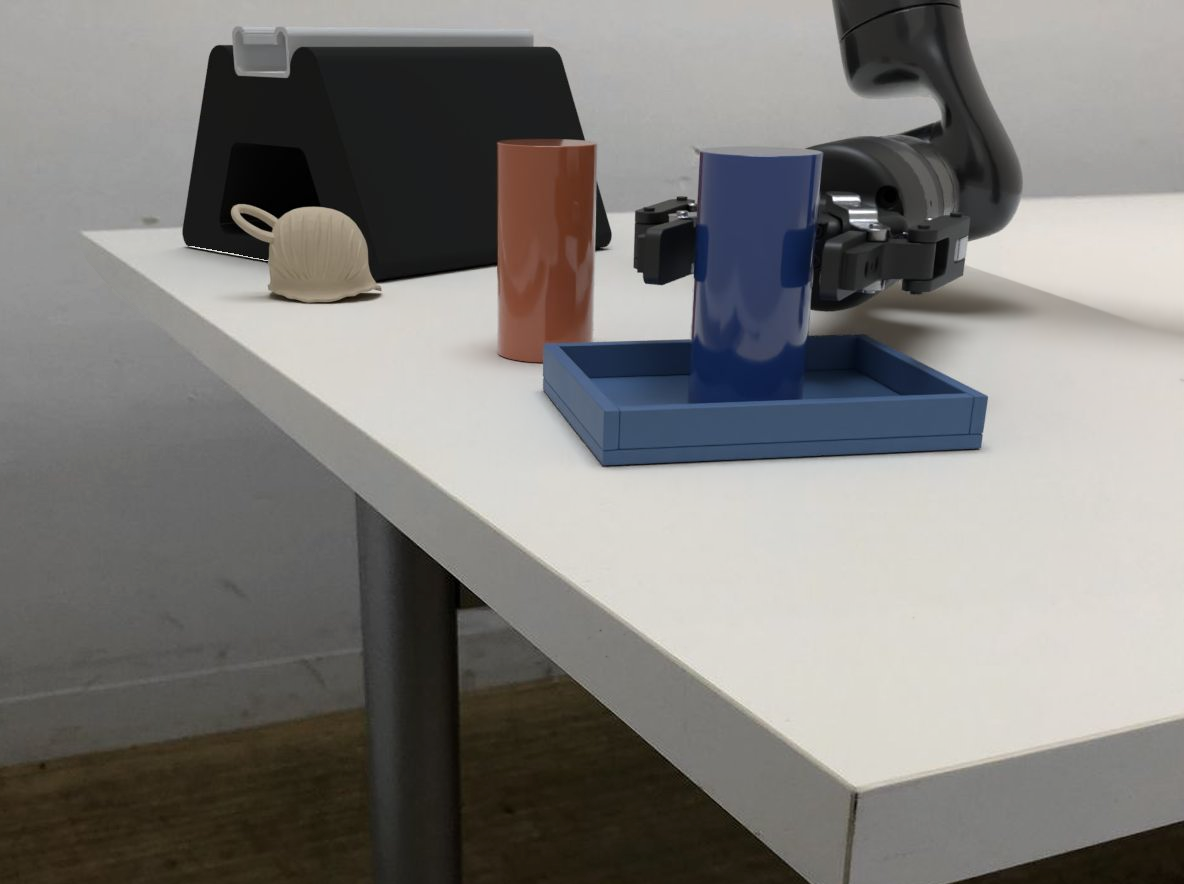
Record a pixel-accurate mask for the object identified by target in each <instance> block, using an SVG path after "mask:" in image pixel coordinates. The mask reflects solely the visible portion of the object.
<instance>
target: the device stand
mask: <svg viewBox="0 0 1184 884" xmlns="http://www.w3.org/2000/svg"><path fill="white" fill-rule="evenodd" d="M532 31H533V30H531V29H529V28H527V29H523V28H522V29H520V28H443V27H442V28H439V27H437V28H434V27H433V28H431V27H429V28H427V27H355V26H354V27H351V26H349V27H348V26H347V27H345V26H344V27H343V26H342V27H341V26H239V25H237V26H235V27H233V28H232V33H231V37H232V44H216V45H214V46H213V47H212V49H211V50H210V53H209V55H208V60H207V68H206V73H205V79H204V86H203V93H202V99H201V104H200V105H201V106H200V113H199V119H198V125H197V132H196V137H195V138H196V139H195V145H194V150H193V159H192V164H191V170H190V171H191V172H190V178H189V183H188V184H189V185H188V191H187V197H186V204H185V210H184V211H185V212H184V216H183V224H182V229H181V230H182V232H181V235H182V240H183V242H184V244H185V245H186V246H187V245H188V246H195V247H200V248H206V249H212V250H217V251H222V252H228V253H234V254H239V255H243V256H248V257H253V258H259V259H264V260H268V259H269V246H270V243H268V242H265V241H262V240H260V239H258V238H256V237H254V236H252V235H250V234H249V233H247V232H246V231H244V230H243V229H242V228H241V227H239V226H238V225H237V223H236V222H235V221H234V220H233V218H232V215H231V210H232V208H233V207H234V206H235V205H238V204H245V205H251V206H254V207H257V208H259V209H261V210H264V211H266V212H268V213H269V214H271V215H273V216H274V217H276V218H277V219H280V218H281V217H282V216H283V215H284V214H286V213H287V212H289V211H291V210H293V209H297V208H302V207H324V208H329V209H334V210H336V211H339V212H341V213H343V214H345V215H346V216H348V217H349V218H350V219H352V220H353V221H354V222H355V223H356V225H357V226H358V228H359V229H360V231H361V233H362V235H363V237H364V239H365V241H366V244H367V249H368V265H369V270H370V273H371V275H372V278H373V279H374V281H375V282H377V281H383V280H391V279H398V278H404V277H412V276H417V275H424V274H431V273H432V274H433V273H439V272H445V270H446V271H451V270H452V269H453V270H459V269H465V268H471V267H472V268H473V267H479V266H485V265H486V266H487V265H492V264H497V142H499V141H504V140H517V139H567V140H583V141H586V139H585V134H584V130H583V128H582V125H581V121H580V117H579V114H578V109H577V107H576V103H575V101H574V100H575V99H574V97H573V92H572V90H571V85H570V83H569V79H568V75H567V72H566V68H565V65H564V62H563V58H562V56H561V54H560V52H559V51H558V50H557V49H555V48H554V47H552V46H535V44H534V43H535V42H534V41H535V40H534V33H533V32H532ZM240 215H241V216H242V217H243V219H244V220H246V221H247V222H248V223H250V224H252V225H253V226H255V227H257V228H259V229H261V230H264V231H267V232H271V233H272V230H273V228H272V227H271V226H270V225H268V224H267V223H266V222H264V221H262V220H261V219H259V218H257V217H255V216H252V215H250V214H246V213H240ZM612 236H613V233H612V228H611V225H610V221H609V217H608V215H607V211H606V208H605V204H604V201H603V197H602V194H601V190H600V186H599V183H598V182H597V185H596V230H595V250H596V249H602V248H607V247H608V246H609V245H610V244H611V241H612ZM188 246H187V247H188ZM438 271H439V272H438ZM411 275H412V276H411Z"/></svg>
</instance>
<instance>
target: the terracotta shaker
mask: <svg viewBox="0 0 1184 884" xmlns="http://www.w3.org/2000/svg"><path fill="white" fill-rule="evenodd" d="M597 173H598V143H597V142H596V141H591V140H585V141H583V140H567V139H517V140H504V141H499V142H497V263H496V287H497V288H496V289H497V292H496V293H497V298H496V301H497V303H496V304H497V305H496V306H497V307H496V309H497V310H496V311H497V313H496V314H497V315H496V316H497V317H496V318H497V325H496V326H497V327H496V329H497V354H498V355H499V356H501V357H503V358H505V359H508V360H514V361H520V362H528V363H542V364H543V344H546V343H556V344H557V343H580V342H594V313H595V311H594V309H595V275H596V274H595V271H596V270H595V269H596V266H595V265H596V249H595V230H596V185H597V183H598V179H597V178H598V174H597Z"/></svg>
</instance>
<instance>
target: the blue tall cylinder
mask: <svg viewBox="0 0 1184 884" xmlns="http://www.w3.org/2000/svg"><path fill="white" fill-rule="evenodd" d="M823 156H824V154H823V152H821V151H817V150H810V149H805V148H798V147H797V148H796V147H784V146H783V147H782V146H781V147H779V146H717V147H706V148H702V149H700V150H699V161H698V162H699V164H698V179H697V181H698V182H697V198H696V199H697V201H696V203H697V217H696V237H695V257H694V274H693V280H692V281H693V282H692V299H691V300H692V301H691V316H690V317H691V318H690V338H689V339H690V356H689V375H688V395H687V401H688V403H689V404H699V403H725V402H752V401H778V400H803V393H804V381H805V370H806V358H807V346H808V336H809V331H810V323H811V321H810V320H811V319H810V318H811V311H812V310H811V298H812V287H813V275H814V263H815V251H816V239H817V227H818V216H819V204H820V192H821V180H822V168H823Z"/></svg>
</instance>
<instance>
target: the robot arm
mask: <svg viewBox="0 0 1184 884" xmlns="http://www.w3.org/2000/svg"><path fill="white" fill-rule="evenodd" d="M831 4H832V10H833V17H834V22H835V30H836V35H837V41H838V46H839V51H840V58H841V59H840V60H841V65H842V70H843V74H844V78H845V81H846V83H847V86H848V88H849V89H850V91H851V92H852V93H853V94H855V95H856V96H858V97H860V98H862V99H863V98H864V99H868V100H889V99H890V100H891V99H901V98H910V97H911V98H912V97H921V98H922V97H924V98H925V97H926V98H930V99H933V100H934V101H935V103H936V104H937V106H938V108H939V111H940V115H941V119H939V120H937V121H934V122H931V123H928V124H924V125H921V126H918V127H915V128H911V129H908V130H905V131H902V132H899V133H896V134H889V135H888V134H887V135H881V136H875V135H859V136H853V137H847V138H843V139H837V140H833V141H828V142H824V143H820V144H815V145H811V146H807V147H804V149H810V150H817V151H821V152H823V154H824V156H823V168H822V180H821V192H820V204H819V216H818V227H817V239H816V251H815V263H814V275H813V287H812V298H811V310H810V311H814V312H825V313H828V312H829V313H830V312H839V311H845V310H849V309H852V308H855V307H857V306H859V305H862V304H863V303H865V302H867V301H868V300H870V299H872V298H874V297H875V296H877V295H879V294H880V293H882V292H883V291H886V290H887V289H889V288H890V287H892V286H893V285H895V284H897V283H898V282H900V281H901V288H900V289H901V291H904V292H907V293H909V294H910V295H914V296H919V295H920V296H921V295H923V293H931V292H933V291H936V290H937V289H939V288H941V287H943V286H945V285H947V284H949V283H951V282H953V281H955V280H958V279H959V278H961V277H963V276H964V272H965V266H966V265H965V264H966V258H967V250H968V249H967V248H968V243H969V242H973V241H977V240H980V239H985V238H988V237H991V236H993V235H995V234H998V233H1000V232H1001V231H1003V230H1004V229H1005V228H1006V227H1007V226H1008V225H1009V224H1010V223H1011V222H1012V220H1013V219H1014V217H1015V215H1016V213H1017V211H1018V209H1019V205H1020V203H1021V199H1022V195H1023V188H1024V178H1023V177H1024V176H1023V171H1022V166H1021V162H1020V159H1019V156H1018V154H1017V152H1016V149H1015V147H1014V144H1013V142H1012V140H1011V138H1010V136H1009V134H1008V132H1007V130H1006V128H1005V126H1004V125H1003V122H1002V120H1001V119H1000V117H999V115H998V113H997V111H996V109H995V106H994V105H993V104H992V100H991V99H990V96H989V95H988V92H987V90H986V88H985V86H984V83H983V81H982V78H981V76H980V73H979V71H978V68H977V65H976V63H975V59H974V56H973V53H972V50H971V47H970V43H969V39H968V34H967V30H966V26H965V25H966V24H965V19H964V14H963V8H962V3H961V0H831ZM696 217H697V202H696V200H695V199H691V198H690V199H689V198H688V196H686V195H685V196H683V195H680V196H676V198H671V199H667V200H664V201H660V202H658V203H654V204H652V205H651V204H650V205H648V206H643V207H642V208H639V209H636V210H634V234H633V235H634V236H633V237H634V239H633V265H632V266H633V267H632V268H633V269H635V270H636V273H638V274H642V279H643V282H644V284H646V285H652V286H665V285H667V284H669V283H670V284H671V283H672V282H675V281H678V280H680V279H683V278H686V277H688V276H690V275H693V276H694V257H695V237H696Z"/></svg>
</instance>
